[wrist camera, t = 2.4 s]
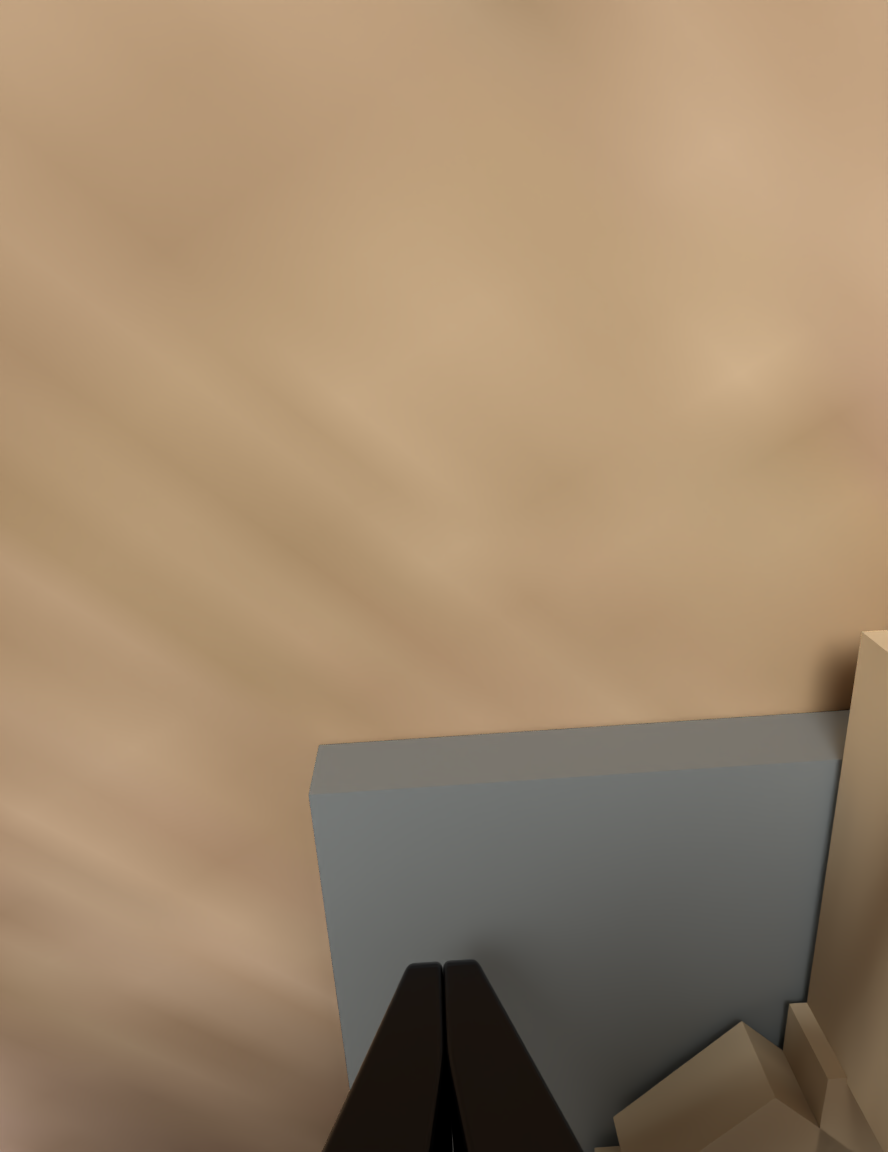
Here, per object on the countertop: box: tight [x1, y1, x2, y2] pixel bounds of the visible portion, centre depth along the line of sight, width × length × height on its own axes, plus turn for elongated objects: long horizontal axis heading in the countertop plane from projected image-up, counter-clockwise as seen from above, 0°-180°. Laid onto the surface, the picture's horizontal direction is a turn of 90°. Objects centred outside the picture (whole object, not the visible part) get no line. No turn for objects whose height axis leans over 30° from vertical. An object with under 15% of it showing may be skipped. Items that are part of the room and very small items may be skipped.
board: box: [309, 710, 850, 1152], centre depth 14 cm, size 17×16×1 cm
